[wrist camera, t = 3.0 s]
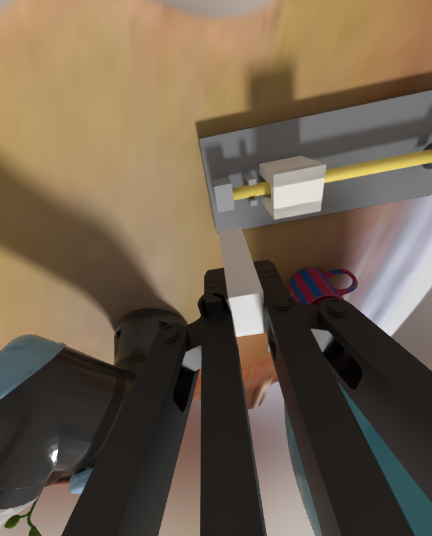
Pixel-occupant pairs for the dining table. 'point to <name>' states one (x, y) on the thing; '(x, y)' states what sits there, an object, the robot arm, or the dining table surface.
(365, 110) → the linear slide mechanism
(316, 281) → the mug
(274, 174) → the sleeve
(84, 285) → the dining table surface
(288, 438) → the vase
